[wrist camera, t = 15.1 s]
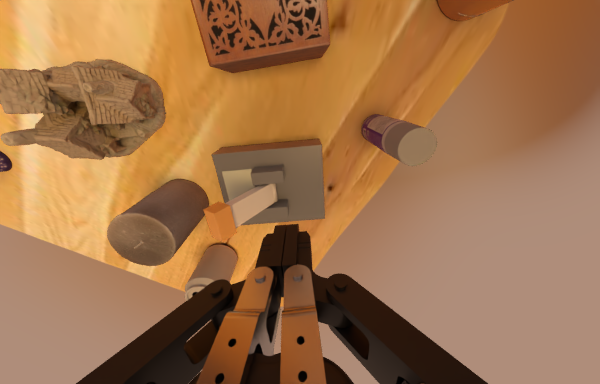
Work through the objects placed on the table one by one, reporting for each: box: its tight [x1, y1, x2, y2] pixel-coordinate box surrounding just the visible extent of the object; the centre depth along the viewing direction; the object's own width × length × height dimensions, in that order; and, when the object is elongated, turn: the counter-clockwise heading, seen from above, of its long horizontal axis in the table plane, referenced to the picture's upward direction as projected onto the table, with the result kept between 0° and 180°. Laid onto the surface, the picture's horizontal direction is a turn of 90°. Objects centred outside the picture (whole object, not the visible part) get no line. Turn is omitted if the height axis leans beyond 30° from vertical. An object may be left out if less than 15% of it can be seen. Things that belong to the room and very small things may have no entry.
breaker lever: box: [203, 184, 278, 242], centre depth 32 cm, size 4×2×12 cm
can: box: [185, 245, 237, 301], centre depth 44 cm, size 8×8×12 cm
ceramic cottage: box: [0, 59, 166, 160], centre depth 30 cm, size 16×16×15 cm
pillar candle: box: [107, 179, 209, 266], centre depth 37 cm, size 10×10×15 cm
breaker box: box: [212, 139, 325, 225], centre depth 38 cm, size 14×18×8 cm
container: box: [361, 114, 437, 166], centre depth 31 cm, size 5×5×15 cm
